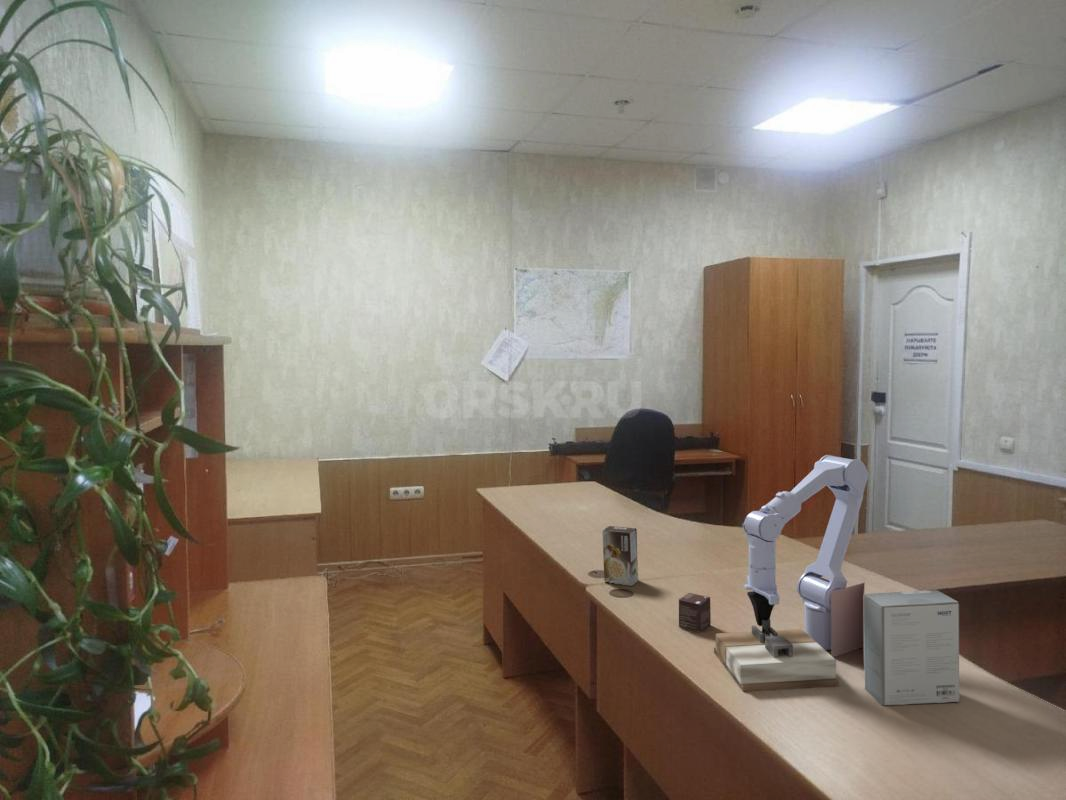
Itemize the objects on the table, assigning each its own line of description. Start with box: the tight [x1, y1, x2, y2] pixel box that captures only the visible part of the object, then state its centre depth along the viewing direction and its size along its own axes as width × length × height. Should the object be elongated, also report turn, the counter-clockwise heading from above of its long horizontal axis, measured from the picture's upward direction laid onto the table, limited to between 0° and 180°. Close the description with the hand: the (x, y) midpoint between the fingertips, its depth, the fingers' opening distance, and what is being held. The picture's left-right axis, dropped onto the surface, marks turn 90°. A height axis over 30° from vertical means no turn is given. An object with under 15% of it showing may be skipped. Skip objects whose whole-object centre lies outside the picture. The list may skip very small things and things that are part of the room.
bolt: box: [760, 618, 773, 640], centre depth 157 cm, size 7×2×4 cm, turn 3°
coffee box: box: [602, 525, 639, 587], centre depth 216 cm, size 9×6×16 cm
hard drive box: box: [863, 589, 960, 706], centre depth 142 cm, size 16×8×20 cm, turn 92°
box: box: [678, 592, 712, 633], centre depth 180 cm, size 6×6×7 cm
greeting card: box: [830, 582, 865, 665], centre depth 160 cm, size 11×7×15 cm, turn 119°
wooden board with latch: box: [713, 625, 839, 692], centre depth 156 cm, size 19×20×8 cm
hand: (762, 624), depth 161 cm, fingers closed
